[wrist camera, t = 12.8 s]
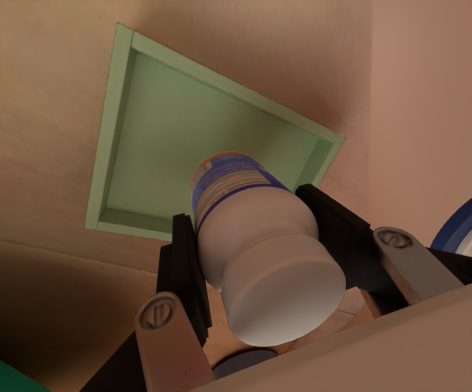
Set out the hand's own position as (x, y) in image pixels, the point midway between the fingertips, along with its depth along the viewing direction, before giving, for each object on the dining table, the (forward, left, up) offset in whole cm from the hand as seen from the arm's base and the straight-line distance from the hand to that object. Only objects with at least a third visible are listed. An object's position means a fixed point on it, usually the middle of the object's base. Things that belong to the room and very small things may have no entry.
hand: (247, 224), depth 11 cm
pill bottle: (0, 0, -5) cm, 5 cm away
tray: (0, 0, -9) cm, 9 cm away
